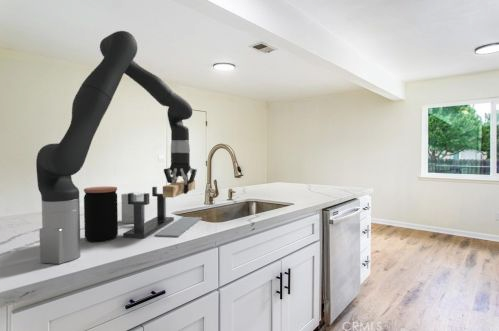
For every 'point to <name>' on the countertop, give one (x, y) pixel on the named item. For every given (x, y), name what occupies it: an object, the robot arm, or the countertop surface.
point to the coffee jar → (100, 214)
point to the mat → (178, 227)
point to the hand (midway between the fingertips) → (180, 193)
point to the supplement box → (130, 206)
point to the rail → (176, 189)
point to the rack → (139, 226)
